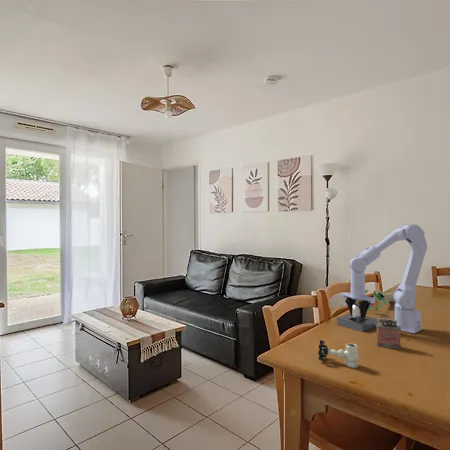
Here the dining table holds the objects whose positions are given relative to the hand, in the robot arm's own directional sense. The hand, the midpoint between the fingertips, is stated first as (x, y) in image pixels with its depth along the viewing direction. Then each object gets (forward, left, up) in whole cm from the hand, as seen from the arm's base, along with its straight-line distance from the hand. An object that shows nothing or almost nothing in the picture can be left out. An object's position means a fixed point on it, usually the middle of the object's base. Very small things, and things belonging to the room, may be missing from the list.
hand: (357, 316), depth 141 cm
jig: (+1, -1, -4) cm, 4 cm away
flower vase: (+9, -35, -4) cm, 37 cm away
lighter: (-19, +12, -4) cm, 23 cm away
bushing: (0, 0, -2) cm, 2 cm away
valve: (-16, +38, -4) cm, 41 cm away
